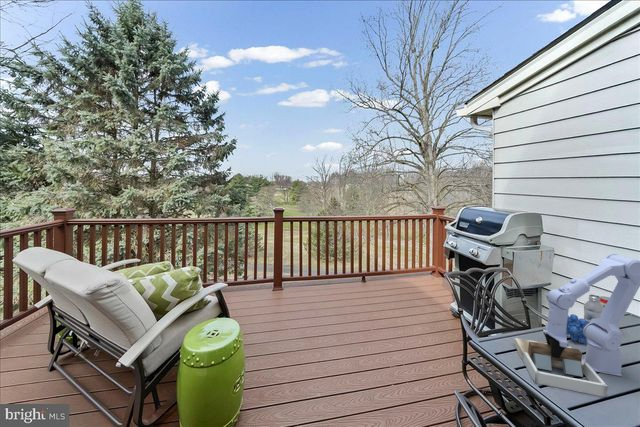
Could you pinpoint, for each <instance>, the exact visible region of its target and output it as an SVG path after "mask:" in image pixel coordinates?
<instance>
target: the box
mask: <svg viewBox="0 0 640 427" xmlns="http://www.w3.org/2000/svg"><path fill="white" fill-rule="evenodd" d="M522 361H523V364H524V366H525V367H526V369H527V372H528V373H529V375H530V376H531V378H532V379H531V380H533V383H534V384H538V385H544V386H548V387H553V388H558V389H564V390H568V391H572V392H573V391H574V392H579V393H582V394H589V395H593V396H596V397H597V396H598V397H604V398H607V396H608V395H607V394H608V385H607V384H606V382H605V381H604V380H603V379H602V378H601V377H600V376H599V374H598V373H597V372H596V371H594V370H593V369H592V368H591V367H590V366H589V364H588V363H584V367H583V372H582V373H583V376H585V377H586V378H587V380H586V379H580V378H574V377H571V376H570V377H569V376H564V375H561V374H560V375H559V374H555V373H549V372H544V371H539V370H538V368H536V367H535V365H534V363H533V362H532V360H531V358H530V356H529V355H528V353H526V352H524V360H522Z"/></svg>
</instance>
